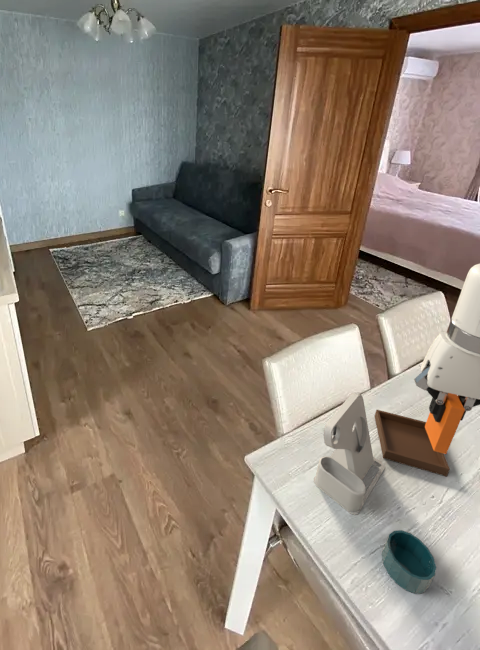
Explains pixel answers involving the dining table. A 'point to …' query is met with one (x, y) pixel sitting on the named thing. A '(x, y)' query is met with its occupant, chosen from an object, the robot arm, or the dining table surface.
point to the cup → (408, 561)
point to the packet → (445, 424)
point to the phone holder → (348, 457)
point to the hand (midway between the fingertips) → (443, 417)
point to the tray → (408, 443)
